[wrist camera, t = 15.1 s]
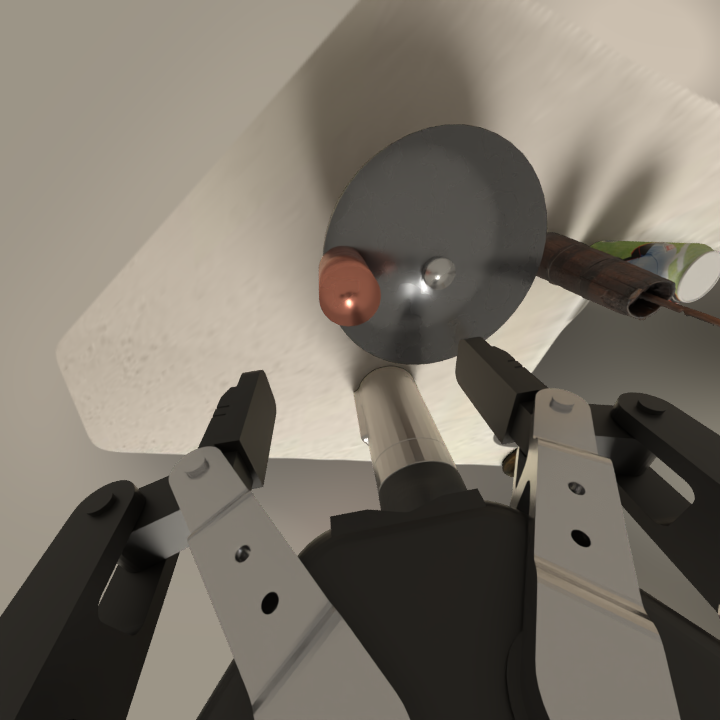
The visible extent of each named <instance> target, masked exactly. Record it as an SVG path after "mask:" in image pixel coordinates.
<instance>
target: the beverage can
mask: <svg viewBox="0 0 720 720" xmlns="http://www.w3.org/2000/svg"><path fill="white" fill-rule="evenodd" d="M590 247H592V248H595V249H598V250H601V251H603V252H605V253H608V254H610V255H613V256H615V257H620V258H621V259H623V260H624V261H627V262H629V263H631V264H633V265H636V266H638V267H640V268H643V269H645V270H648V271H650V272H652V273H654V274H656V275H659V276H661V277H663V278H666V279H668V280H671V281H673V282H675V284H676V286H675V287H676V291H675V295H674V296H672V298H671V300H669V301H670V302H674V303H676V304H678V303H681V302H693V301H696V300H697V299H699V298H701V297H703V296H704V295H705V294H706V293H707V292H708V291H710V290H711V288H712V287H713V286H714V285H715V283H716V282H717V280H718V279H719V278H720V251H714V250H713V249H712V248H711V247H709V246H707V245H705V244H699V243H668V242H634V241H599V242H597V243H595V244H593V245H591V246H590Z"/></svg>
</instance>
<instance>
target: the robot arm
mask: <svg viewBox="0 0 720 720" xmlns="http://www.w3.org/2000/svg"><path fill="white" fill-rule="evenodd" d="M455 373H456V379H457V382H458V384H459V385H460V387H461V388H462V390H463V391H464V392H465V394H466V395H467V396H468V398H469V399H470V401H471V402H472V403H473V405H474V406H475V408H476V409H477V410H478V412H479V413H480V414H481V416H482V417H483V419H484V420H485V421H486V423H487V424H488V426H489V427H490V428H491V430H492V431H493V432H494V434H495V435H496V436H497V438H498V439H499V441H500V442H501V443H502V444H507V443H512V442H516V444H517V445H518V446H519V447H518V449H517V453H516V462H515V471H514V480H513V489H512V490H513V491H512V497H511V502H510V506H507V505H504V504H501V503H497V502H492V501H486V500H483V498H482V496H481V495H480V493H479V491H478V489H472V490H467V489H466V486H465V484H464V482H463V480H462V478H461V476H460V474H459V472H458V470H457V468H456V466H455V463H454V461H453V459H452V457H451V455H450V453H449V451H448V449H447V447H446V445H445V443H444V441H443V439H442V437H441V435H440V433H439V431H438V429H437V427H436V425H435V423H434V421H433V418H432V416H431V414H430V412H429V410H428V408H427V406H426V404H425V402H424V400H423V398H422V396H421V394H420V392H419V390H418V387H417V385H416V383H415V381H414V380H413V378H412V376H411V375H410V374H409V373H408V372H407V371H406V370H404V369H402V368H399V367H393V366H390V367H383V368H379V369H377V370H374V371H372V372H371V373H369V374H368V375H367V376H366V377H365V378H364V379H363V381H362V382H361V384H360V387H359V389H358V390H357V391H356V392H354V399H355V405H356V411H357V417H358V423H359V428H360V434H361V439H362V440H363V441H364V442H365V443H366V444H367V445H368V446H369V449H370V454H371V460H372V465H373V470H374V475H375V480H376V485H377V490H378V494H379V501H380V506H381V511H380V510H379V511H378V510H363V511H357V512H352V513H347V514H342V515H336V516H331V517H330V519H331V529H330V530H328V531H326V532H324V533H322V534H321V535H320V536H318V537H317V538H315V539H314V540H313V541H312V542H311V543H309V544H308V545H307V546H306V547H305V548H304V549H303V550H302V551H301V552H300V554H299V555H298V556H297V555H296V554H295V552H294V551H293V550H292V548H291V547H290V545H289V544H288V543H287V541H286V540H285V539H284V537H283V536H282V534H281V533H280V532H279V530H278V529H277V527H276V526H275V524H274V523H273V522H272V520H271V519H270V517H269V516H268V514H267V513H266V512H265V510H264V509H263V508H262V506H261V505H260V503H259V502H258V500H257V499H256V498H255V496H254V495H253V493H252V492H251V490H252V489H254V488H260V487H263V485H264V479H265V474H266V468H267V462H268V457H269V451H270V446H271V440H272V434H273V429H274V423H275V417H276V403H275V399H274V396H273V394H272V391H271V388H270V385H269V382H268V380H267V377H266V374H265V372H264V371H263V370H258V371H251V372H245V373H242V375H241V377H240V380H239V382H238V385H237V387H231V388H230V389H229V390H228V391H227V392H226V393H225V394H224V395H223V396H222V397H221V399H220V401H219V403H218V405H217V409H216V410H215V412H214V414H213V418H212V419H211V421H210V423H209V425H208V427H207V430H206V432H205V434H204V436H203V438H202V441H201V443H200V445H199V447H198V449H196V450H194V451H192V452H190V453H188V454H187V455H185V456H184V457H183V458H181V459H180V460H179V461H178V462H177V463H176V464H175V466H174V467H173V469H172V470H171V472H170V475H169V476H167V477H165V478H163V479H160V480H158V481H155V482H153V483H151V484H148V485H146V486H144V487H141V488H139V489H138V488H137V487H136V486H135V485H134V484H133V483H132V482H130V481H127V480H121V481H116V482H112V483H110V484H107V485H105V486H103V487H102V488H100V489H98V490H97V491H95V492H94V493H92V494H90V495H89V496H88V497H87V498H86V499H85V500H83V501H82V502H81V503H80V504H79V505H78V506H77V508H76V509H75V510H74V512H73V513H72V514H71V516H70V517H69V519H68V520H67V521H66V523H65V524H64V526H63V527H62V529H61V530H60V531H59V533H58V534H57V536H56V537H55V539H54V540H53V542H52V543H51V544H50V546H49V547H48V549H47V550H46V552H45V553H44V555H43V556H42V558H41V559H40V560H39V562H38V563H37V565H36V566H35V568H34V569H33V570H32V572H31V573H30V575H29V576H28V578H27V579H26V581H25V582H24V584H23V585H22V586H21V588H20V589H19V591H18V592H17V594H16V595H15V596H14V598H13V599H12V601H11V602H10V604H9V605H8V607H7V608H6V609H5V611H4V613H3V614H2V615H1V617H0V720H126V717H127V714H128V711H129V708H130V705H131V702H132V699H133V696H134V693H135V690H136V686H137V683H138V680H139V677H140V674H141V671H142V668H143V664H144V662H145V658H146V655H147V652H148V649H149V646H150V643H151V640H152V637H153V634H154V630H155V627H156V624H157V621H158V618H159V615H160V612H161V609H162V606H163V603H164V599H165V596H166V593H167V590H168V587H169V584H170V581H171V578H172V575H173V572H174V568H175V565H176V562H177V559H178V556H179V552H180V551H182V550H184V549H186V548H187V547H189V548H190V550H191V553H192V555H193V557H194V560H195V562H196V565H197V567H198V570H199V572H200V575H201V577H202V580H203V582H204V585H205V587H206V590H207V592H208V595H209V597H210V600H211V602H212V605H213V607H214V609H215V612H216V615H217V617H218V619H219V622H220V625H221V627H222V630H223V632H224V634H225V637H226V639H227V642H228V644H229V647H230V649H231V652H232V654H233V657H234V659H233V660H232V662H231V664H230V665H229V667H228V669H227V670H226V672H225V674H224V675H223V677H222V678H221V680H220V681H219V683H218V685H217V686H216V688H215V690H214V691H213V693H212V695H211V696H210V698H209V700H208V701H207V703H206V704H205V706H204V708H203V709H202V711H201V713H200V714H199V716H198V717H197V719H196V720H720V640H718V639H717V638H715V637H714V636H712V635H711V634H709V633H708V632H706V631H705V630H703V629H702V628H700V627H699V626H697V625H695V624H694V623H692V622H691V621H689V620H688V619H686V618H685V617H683V616H682V615H680V614H679V613H677V612H676V611H674V610H673V609H671V608H669V607H668V606H666V605H665V604H663V603H662V602H660V601H659V600H657V599H656V598H654V597H653V596H651V595H650V594H648V593H646V592H645V591H643V590H642V589H640V588H639V587H638V582H637V577H636V572H635V567H634V563H633V558H632V553H631V548H630V544H629V539H628V534H627V530H626V525H625V520H624V515H623V511H622V506H623V507H624V508H625V510H626V511H627V512H628V513H629V514H630V515H631V516H632V517H633V518H634V520H635V521H636V522H637V523H638V524H639V525H640V526H641V527H642V529H643V530H644V531H645V532H646V533H647V534H648V535H649V536H650V538H651V539H652V540H653V541H654V542H655V543H656V544H657V545H658V547H659V548H660V549H661V550H662V551H663V552H664V553H665V554H666V555H667V556H668V558H669V559H670V560H671V561H672V562H673V563H674V564H675V566H676V567H677V568H678V569H679V570H680V571H681V572H682V573H683V575H684V576H685V577H686V578H687V579H688V580H689V581H690V582H691V583H692V585H693V586H694V587H695V588H696V589H697V590H698V591H699V592H700V594H701V595H702V596H703V597H704V598H705V599H706V600H707V601H708V602H709V604H710V605H711V606H712V607H713V608H714V609H715V610H716V612H717V613H718V614H719V618H720V436H719V435H718V434H717V433H715V432H713V431H712V430H710V429H709V428H707V427H706V426H704V425H703V424H701V423H700V422H698V421H697V420H695V419H693V418H692V417H690V416H689V415H687V414H686V413H684V412H683V411H681V410H680V409H678V408H677V407H675V406H674V405H672V404H670V403H669V402H667V401H665V400H662V399H660V398H657V397H654V396H651V395H647V394H643V393H625V394H622V395H620V396H619V398H618V399H617V401H616V403H615V405H614V406H612V405H596V404H587V402H586V401H585V400H584V399H582V398H581V397H580V396H578V395H576V394H574V393H572V392H568V391H566V390H562V389H557V388H548V387H547V386H545V385H544V384H543V383H542V382H541V381H540V380H538V379H537V378H536V377H535V376H534V375H533V374H532V373H530V372H529V371H528V370H527V369H526V368H525V367H522V365H521V364H520V363H519V362H518V361H515V359H514V358H513V357H512V356H511V355H510V354H508V353H507V352H506V351H503V350H501V349H499V348H497V347H495V346H493V347H492V346H490V345H489V344H488V343H487V342H486V341H485V340H484V339H483V338H482V337H473V338H467V339H461V340H460V341H459V344H458V353H457V361H456V370H455ZM656 457H658V458H659V459H660V460H662V461H663V462H664V463H665V464H666V465H667V466H668V467H670V468H671V469H672V470H673V471H674V472H676V473H677V474H678V475H679V476H680V477H682V478H683V479H684V480H685V481H686V482H687V483H688V484H689V485H690V487H691V488H692V490H693V492H694V495H695V500H694V502H693V504H691V503H690V502H688V501H687V500H686V499H685V498H684V497H683V496H682V495H681V494H680V493H678V492H677V491H676V490H675V489H674V488H673V487H672V486H671V485H669V484H668V483H667V482H666V481H665V480H664V479H663V478H662V477H660V476H659V475H658V474H657V473H656V472H655V471H654V470H653V469H652V468H650V467H649V466H650V465H651V463H652V462H653V461H654V459H655V458H656ZM621 505H622V506H621ZM116 564H118V566H117V568H116V570H115V572H114V575H113V577H112V579H111V581H110V583H109V585H108V587H107V589H106V592H105V593H104V596H103V598H102V600H101V602H100V604H99V601H100V598H101V595H102V593H103V591H104V589H105V587H106V585H107V583H108V581H109V578H110V576H111V574H112V572H113V570H114V568H115V566H116ZM98 604H99V606H98Z"/></svg>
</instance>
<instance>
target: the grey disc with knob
mask: <svg viewBox="0 0 720 720" xmlns="http://www.w3.org/2000/svg"><path fill="white" fill-rule="evenodd" d="M546 231H547V211H546V205H545V199H544V194H543V191H542V188H541V185H540V181H539V179H538V177H537V175H536V173H535V171H534V169H533V167H532V165H531V164H530V163H529V161H528V160H527V159H526V157H525V156H524V155H523V153H522V152H521V151H519V150H518V149H517V148H516V147H515V146H514V145H513V144H512V143H511V142H509V141H508V140H506V139H505V138H503V137H501V136H500V135H498V134H496V133H494V132H491V131H489V130H486V129H483V128H481V127H475V126H469V125H441V126H436V127H430V128H426V129H423V130H420V131H418V132H415V133H412V134H409V135H407V136H405V137H403V138H402V139H400V140H398V141H396V142H394V143H392V144H391V145H389V146H387V147H385V148H384V149H383V150H381V151H380V152H379V153H377V154H376V155H375V156H373V157H372V158H371V159H370V160H369V161H368V162H367V163H366V164H365V165H364V166H363V167H362V168H361V169H360V170H359V171H358V172H357V173H356V174H355V176H354V177H353V178H352V180H351V181H350V182H349V183H348V185H347V186H346V188H345V189H344V191H343V193H342V195H341V196H340V198H339V200H338V201H337V203H336V206H335V208H334V210H333V213H332V215H331V217H330V221H329V224H328V228H327V231H326V235H325V241H324V247H323V257H322V259H321V261H320V264H319V301H320V306H321V308H322V311H323V312H324V314H325V315H326V316H327V317H328V318H329V319H330V320H331V321H332V322H334V323H336V324H338V325H340V327H341V328H342V329H343V331H344V332H345V333H346V335H347V336H348V337H349V338H350V339H351V340H352V341H353V342H354V343H355V344H357V345H358V346H359V347H361V348H362V349H363V350H365V351H367V352H368V353H370V354H372V355H374V356H376V357H378V358H381V359H383V360H387V361H390V362H394V363H400V364H413V365H419V364H430V363H435V362H440V361H443V360H447V359H450V358H453V357H455V356H457V353H458V344H459V341H460V340H461V339H467V338H473V337H482V338H483V339H484V340H486V339H487V338H488V337H490V336H491V335H492V334H493V333H495V332H496V331H497V330H498V329H499V328H500V327H501V326H502V325H503V324H504V323H505V322H506V321H507V320H508V319H509V318H510V316H511V315H512V314H513V313H514V312H515V311H516V309H517V308H518V306H519V305H520V304H521V302H522V301H523V299H524V298H525V296H526V294H527V292H528V291H529V289H530V287H531V285H532V283H533V281H534V279H535V276H536V274H537V272H538V269H539V266H540V263H541V260H542V256H543V251H544V247H545V242H546Z"/></svg>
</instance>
